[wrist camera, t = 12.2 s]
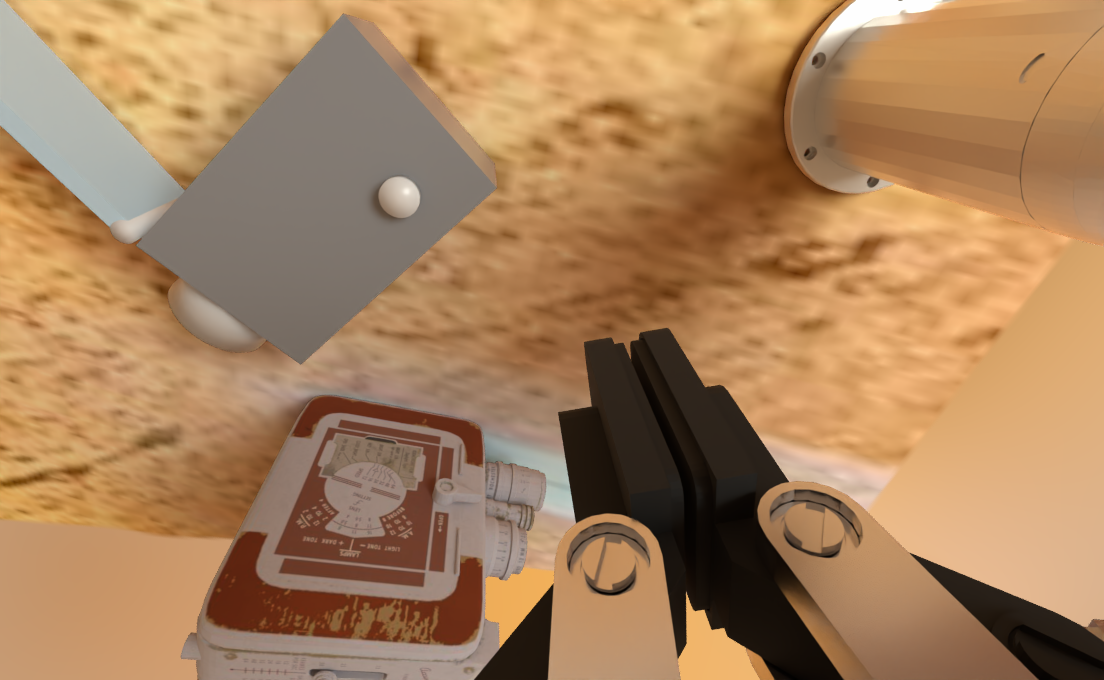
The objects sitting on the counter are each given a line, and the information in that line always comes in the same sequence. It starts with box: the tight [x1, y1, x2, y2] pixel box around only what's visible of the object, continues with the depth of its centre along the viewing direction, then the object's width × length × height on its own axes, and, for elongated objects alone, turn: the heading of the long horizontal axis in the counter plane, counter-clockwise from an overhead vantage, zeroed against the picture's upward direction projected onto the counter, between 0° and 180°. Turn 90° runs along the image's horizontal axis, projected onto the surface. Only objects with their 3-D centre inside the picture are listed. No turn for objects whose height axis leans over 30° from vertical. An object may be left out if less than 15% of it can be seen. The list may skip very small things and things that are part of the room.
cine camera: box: [181, 395, 546, 680], centre depth 35 cm, size 9×19×20 cm, turn 72°
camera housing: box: [136, 14, 497, 364], centre depth 29 cm, size 20×10×8 cm, turn 129°
